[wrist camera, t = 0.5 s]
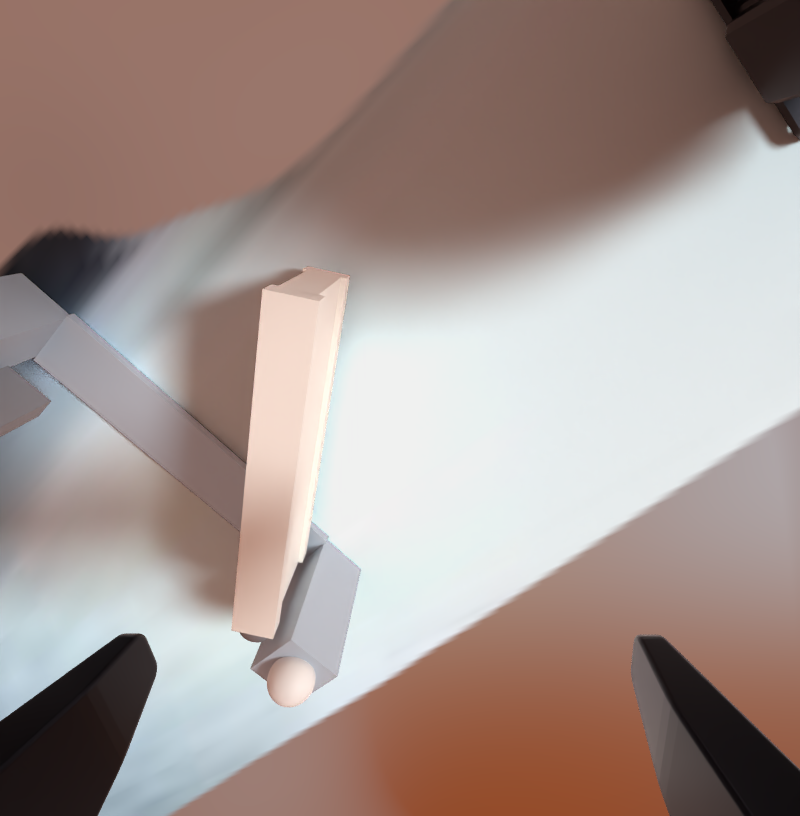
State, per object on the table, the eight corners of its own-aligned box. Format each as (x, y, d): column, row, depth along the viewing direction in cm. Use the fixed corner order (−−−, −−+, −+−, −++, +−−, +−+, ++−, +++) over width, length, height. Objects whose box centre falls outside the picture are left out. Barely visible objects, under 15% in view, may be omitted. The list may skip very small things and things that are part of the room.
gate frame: (24, 269, 20) (-182, 304, 13) (363, 567, 25) (334, 703, 18) (-15, 325, 21) (-224, 383, 15) (317, 601, 26) (273, 741, 19)
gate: (350, 274, 19) (319, 301, 14) (305, 560, 24) (271, 650, 19) (308, 265, 19) (262, 288, 14) (272, 553, 24) (230, 641, 19)
